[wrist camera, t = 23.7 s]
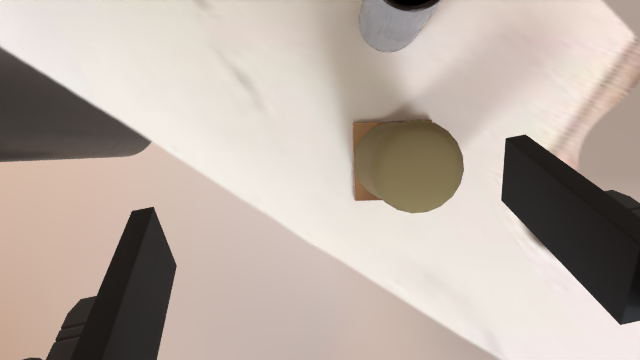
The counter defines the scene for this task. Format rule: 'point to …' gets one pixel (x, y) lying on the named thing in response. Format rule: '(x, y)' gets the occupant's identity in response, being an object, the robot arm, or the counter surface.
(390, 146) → the pepper shaker
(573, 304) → the counter surface
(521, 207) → the robot arm
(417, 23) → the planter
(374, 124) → the coaster
